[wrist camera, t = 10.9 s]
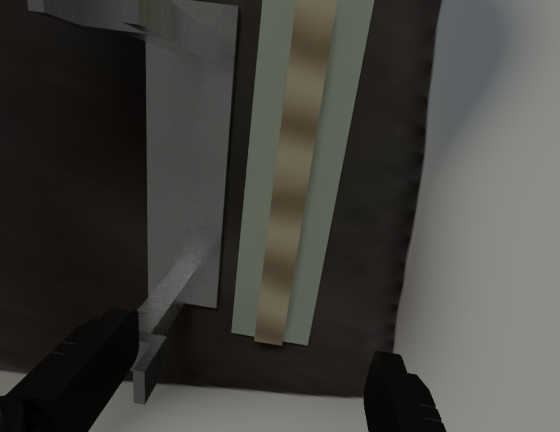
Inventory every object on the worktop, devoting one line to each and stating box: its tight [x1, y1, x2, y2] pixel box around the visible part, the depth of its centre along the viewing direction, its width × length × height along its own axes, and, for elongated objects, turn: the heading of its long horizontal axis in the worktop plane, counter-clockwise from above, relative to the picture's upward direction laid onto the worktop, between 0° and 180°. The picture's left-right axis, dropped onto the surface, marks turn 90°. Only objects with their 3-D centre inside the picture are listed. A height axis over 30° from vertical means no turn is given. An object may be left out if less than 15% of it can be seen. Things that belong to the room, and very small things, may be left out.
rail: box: [254, 0, 338, 346], centre depth 30 cm, size 32×3×3 cm, turn 173°
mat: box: [231, 0, 374, 346], centre depth 32 cm, size 36×9×1 cm, turn 173°
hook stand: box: [27, 0, 241, 404], centre depth 26 cm, size 30×8×15 cm, turn 173°
